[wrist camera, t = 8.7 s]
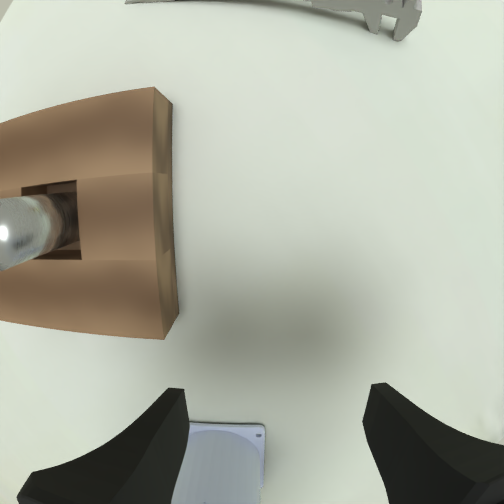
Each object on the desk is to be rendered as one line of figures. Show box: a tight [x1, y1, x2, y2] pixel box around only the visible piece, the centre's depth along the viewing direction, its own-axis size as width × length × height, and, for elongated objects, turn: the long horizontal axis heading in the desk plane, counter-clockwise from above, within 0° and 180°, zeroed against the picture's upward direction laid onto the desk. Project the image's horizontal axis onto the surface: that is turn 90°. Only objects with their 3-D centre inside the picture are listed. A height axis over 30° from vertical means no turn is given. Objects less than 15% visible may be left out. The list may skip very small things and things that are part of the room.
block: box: [0, 87, 179, 340], centre depth 18 cm, size 14×14×4 cm
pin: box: [0, 192, 80, 271], centre depth 15 cm, size 3×3×8 cm
